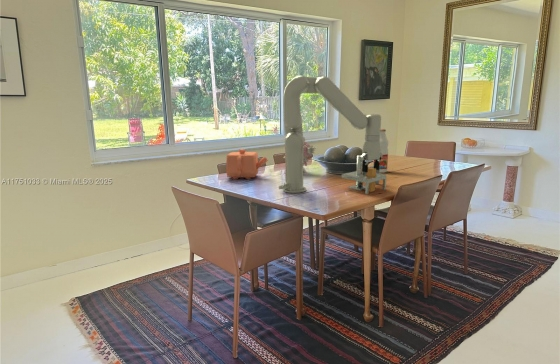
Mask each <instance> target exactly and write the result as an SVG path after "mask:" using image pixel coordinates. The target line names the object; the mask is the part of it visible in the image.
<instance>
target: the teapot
mask: <svg viewBox="0 0 560 364" xmlns="http://www.w3.org/2000/svg"><path fill="white" fill-rule="evenodd" d="M268 162H269V160H268V158H267V157H266V156H263V157H262V158H260V160H259V159H258V152H257V151H246V149H244V148H241V149H238V151H231V152H229V154H227V155H226V163H225V164H226V165H225V166H226V177H227V178H232V180H238V179H239V178H245V180H252V178H255V177H256V176H257V174H258V173H259V169H260V167H262V166H263V165H265V164H266V163H268Z"/></svg>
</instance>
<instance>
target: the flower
mask: <svg viewBox="0 0 560 364" xmlns="http://www.w3.org/2000/svg"><path fill="white" fill-rule="evenodd" d="M315 151H316V148H315V147H314V145H312V144H311V145H310V144H309V143H308V142H307V141H306V139H305V137H304V136H303V172H306V173H307V169H306V168H305V167H307V166H308V162H309V160H310V159H309V158H308V157H310V156H313V154H315ZM282 159H285V155H284V156H283V157H282ZM304 166H305V167H304Z"/></svg>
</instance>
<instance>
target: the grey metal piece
mask: <svg viewBox="0 0 560 364" xmlns="http://www.w3.org/2000/svg"><path fill="white" fill-rule="evenodd" d="M360 156H362V154H358V155H356V170H355V171H352V172H351V171H350V172H346V173H342V174H341V179H346V180H349V181H351V180H352V181H355V184H354V185H350V186H348V189H352V190H357V191H360V192H361V191H364V190H365V192H364V193H365V195H369V192H370V191H369V183H370V182H374V181H379V182H380V181H382V190H384V191H385V190H386V189H387V174H384V173H379V174H378V173H376V177H368V176H366V173H365V174H363V172H362V162H361V159H360ZM364 183H365V184H364Z"/></svg>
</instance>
